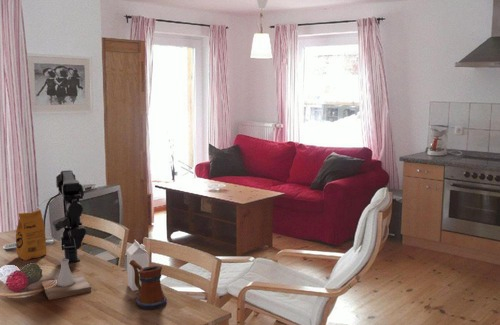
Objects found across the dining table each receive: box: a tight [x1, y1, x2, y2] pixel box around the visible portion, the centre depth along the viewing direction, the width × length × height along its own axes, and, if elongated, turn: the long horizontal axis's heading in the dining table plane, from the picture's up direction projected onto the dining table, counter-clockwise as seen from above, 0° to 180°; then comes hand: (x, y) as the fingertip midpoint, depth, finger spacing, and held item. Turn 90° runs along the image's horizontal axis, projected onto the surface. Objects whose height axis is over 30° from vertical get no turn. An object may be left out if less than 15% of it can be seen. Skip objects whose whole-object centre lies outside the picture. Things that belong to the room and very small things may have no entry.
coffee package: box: [15, 209, 47, 261], centre depth 250 cm, size 10×12×22 cm
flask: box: [56, 258, 76, 287], centre depth 212 cm, size 7×7×10 cm
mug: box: [129, 260, 168, 310], centre depth 200 cm, size 18×12×15 cm, turn 47°
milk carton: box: [126, 239, 150, 292], centre depth 213 cm, size 7×7×19 cm
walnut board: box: [44, 273, 92, 301], centre depth 213 cm, size 16×16×2 cm
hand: (75, 246), depth 225 cm, fingers open, 9 cm apart
